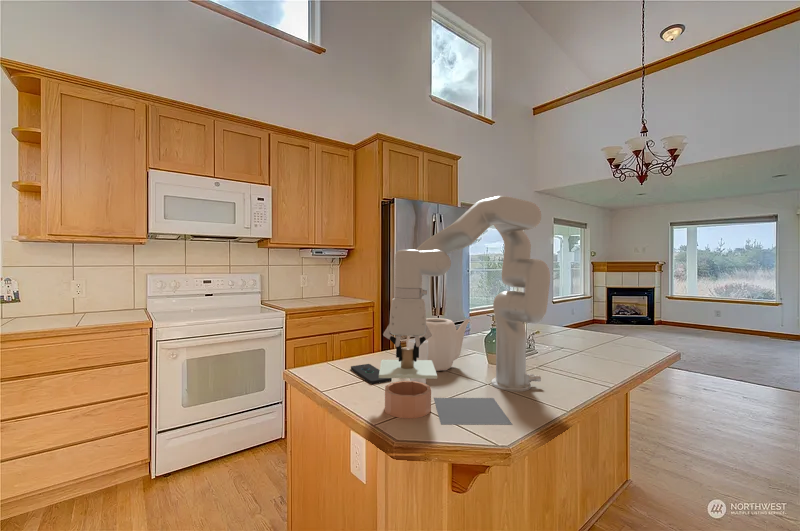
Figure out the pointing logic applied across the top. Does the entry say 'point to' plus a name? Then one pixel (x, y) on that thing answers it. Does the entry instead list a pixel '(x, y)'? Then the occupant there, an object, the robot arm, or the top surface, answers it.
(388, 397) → the bowl
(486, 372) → the top surface
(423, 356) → the drinking glass
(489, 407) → the mat
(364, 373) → the smart home device
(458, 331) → the watering can
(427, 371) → the cover sheet
